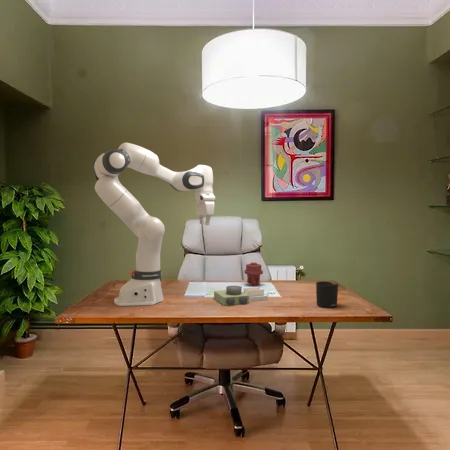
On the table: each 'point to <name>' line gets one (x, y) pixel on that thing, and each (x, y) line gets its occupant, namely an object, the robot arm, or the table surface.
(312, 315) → the table surface
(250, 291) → the chute
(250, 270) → the mechanical component
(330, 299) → the pen holder
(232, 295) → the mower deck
